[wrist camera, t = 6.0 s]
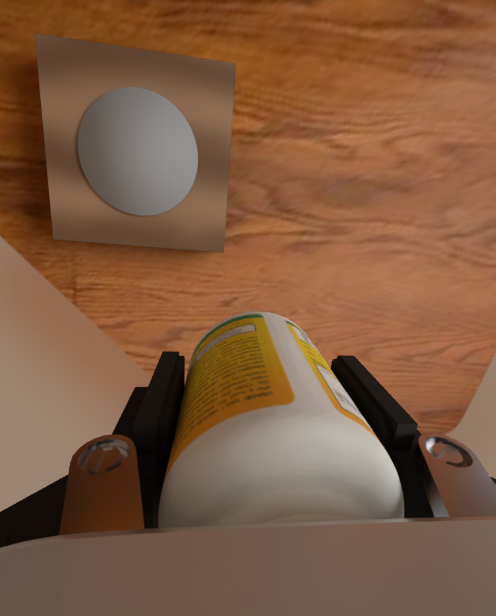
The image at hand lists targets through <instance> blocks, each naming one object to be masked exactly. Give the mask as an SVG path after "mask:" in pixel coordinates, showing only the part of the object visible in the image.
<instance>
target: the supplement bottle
mask: <svg viewBox="0 0 496 616" xmlns="http://www.w3.org/2000/svg"><path fill="white" fill-rule="evenodd" d="M398 518H404V499H403V492H402V487H401V483H400V480H399V477H398V474H397V471H396V469H395V467H394V465H393V462H392V460H391V459H390V457H389V455H388V453H387V452H386V450H385V449H384V447H383V446H382V444H381V443H380V441H379V439H378V438H377V436H376V435H375V433H374V432H373V430H372V429H371V428H370V426H369V425H368V423H367V422H366V420H365V419H364V417H363V416H362V414H361V413H360V412H359V410H358V409H357V407H356V406H355V404H354V403H353V401H352V400H351V398H350V397H349V395H348V394H347V392H346V391H345V390H344V388H343V387H342V385H341V384H340V382H339V381H338V379H337V378H336V376H335V375H334V373H333V372H332V371H331V369H330V368H329V366H328V365H327V363H326V362H325V360H324V359H323V357H322V356H321V354H320V353H319V351H318V350H317V349H316V347H315V346H314V345H313V343H312V342H311V340H310V339H309V338H308V336H307V335H306V334H305V332H304V331H303V330H302V329H301V328H299V327H298V326H297V325H296V324H295V323H293V322H292V321H290V320H288V319H287V318H284V317H282V316H280V315H277V314H273V313H269V312H259V311H250V312H244V313H240V314H237V315H234V316H231V317H229V318H227V319H225V320H223V321H221V322H219V323H218V324H216V325H215V326H213V327H212V328H211V329H210V330H208V331H207V332H206V333H205V335H204V336H203V337H202V338H201V339H200V341H199V342H198V344H197V346H196V348H195V349H194V352H193V355H192V358H191V361H190V365H189V369H188V374H187V379H186V383H185V387H184V392H183V397H182V401H181V406H180V411H179V415H178V420H177V425H176V430H175V434H174V439H173V444H172V448H171V452H170V457H169V461H168V465H167V470H166V474H165V478H164V483H163V488H162V492H161V497H160V504H159V512H158V528H167V527H191V526H214V525H237V524H261V523H286V522H313V521H340V520H368V519H398Z"/></svg>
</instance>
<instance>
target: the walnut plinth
mask: <svg viewBox="0 0 496 616" xmlns="http://www.w3.org/2000/svg"><path fill="white" fill-rule="evenodd" d="M35 43H36V54H37V65H38V76H39V87H40V98H41V109H42V120H43V131H44V142H45V153H46V164H47V175H48V186H49V197H50V208H51V219H52V230H53V239H56V240H69V241H82V242H94V243H107V244H120V245H133V246H145V247H158V248H171V249H183V250H196V251H209V252H222V253H224V240H225V224H226V209H227V193H228V178H229V162H230V147H231V131H232V116H233V100H234V85H235V69H236V64H235V63H229V62H222V61H215V60H209V59H202V58H196V57H189V56H182V55H176V54H169V53H162V52H156V51H149V50H143V49H136V48H129V47H123V46H116V45H109V44H103V43H96V42H90V41H83V40H76V39H70V38H63V37H57V36H50V35H43V34H37V33H35Z"/></svg>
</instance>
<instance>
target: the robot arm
mask: <svg viewBox="0 0 496 616" xmlns="http://www.w3.org/2000/svg"><path fill="white" fill-rule="evenodd" d="M184 369H185V358H184V356H179V352H166V351H163V352H162V355H161V357H160V360H159V362H158V364H157V367H156V369H155V372H154V374H153V376H152V379H151V381H150V384H149V386H148V387H135V389H134V390H133V392H132V395H131V396H130V398H129V401H128V403H127V405H126V407H125V409H124V411H123V413H122V415H121V417H120V419H119V421H118V423H117V425H116V427H115V429H114V431H113V433H112V435H104V436H101V437H98V438H95V439H93V440H91V441H89V442H87V443H86V444H84V445H83V446H81V447H80V448H79V449H78V450H77V451H76V453H75V454H74V455H73V457H72V460H71V462H70V467H69V474H68V475H66V476H65V477H63V478H61V479H59V480H57V481H56V482H54V483H52V484H50V485H48V486H46V487H45V488H43V489H41V490H39V491H37V492H36V493H34V494H32V495H30V496H28V497H26V498H25V499H23V500H21V501H19V502H17V503H16V504H14V505H12V506H10V507H8V508H7V509H5V510H3V511H1V512H0V616H496V479H494V478H492V477H490V476H489V474H488V473H487V471H486V470H485V468H484V467H483V465H482V464H481V462H480V461H479V459H478V458H477V456H476V455H475V454H474V453H473V452H472V451H471V450H470V449H469V448H468V447H466V446H465V445H464V444H462V443H460V442H459V441H457V440H455V439H452V438H450V437H448V436H445V435H441V434H437V433H425V434H423V435H421V433H420V432H419V431H418V430H417V425H418V424H417V423H416V422H415V421H414V420H413V419H412V418H411V417H410V415H409V414H408V413H407V412H406V411H405V410H404V409H403V408H402V407H401V406H400V405H399V404H398V403H397V401H396V400H395V399H394V398H393V397H392V396H391V395H390V394H389V393H388V392H387V391H386V390H385V389H384V388H383V386H382V385H381V384H380V383H379V382H378V381H377V380H376V379H375V378H374V377H373V376H372V375H371V374H370V372H369V371H368V370H367V369H366V368H365V367H364V366H363V365H362V364H361V363H360V362H359V361H358V360H357V359H356V357H354V356H338V357H337V358H336V359H333V361H332V364H331V371H332V372H333V373H334V375H335V376H336V378H337V379H338V381H339V382H340V384H341V385H342V387H343V388H344V390H345V391H346V392H347V394H348V395H349V397H350V398H351V400H352V401H353V403H354V404H355V406H356V407H357V409H358V410H359V412H360V413H361V414H362V416H363V417H364V419H365V420H366V422H367V423H368V425H369V426H370V428H371V429H372V430H373V432H374V433H375V435H376V436H377V438H378V439H379V441H380V443H381V444H382V446H383V447H384V449H385V450H386V452H387V453H388V455H389V457H390V459H391V460H392V462H393V465H394V467H395V469H396V471H397V474H398V477H399V480H400V483H401V487H402V492H403V499H404V518H398V519H368V520H340V521H313V522H286V523H261V524H237V525H214V526H191V527H167V528H158V512H159V504H160V497H161V492H162V488H163V483H164V478H165V474H166V470H167V465H168V461H169V457H170V452H171V448H172V444H173V439H174V434H175V430H176V425H177V420H178V415H179V411H180V406H181V401H182V397H183V392H184Z"/></svg>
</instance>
